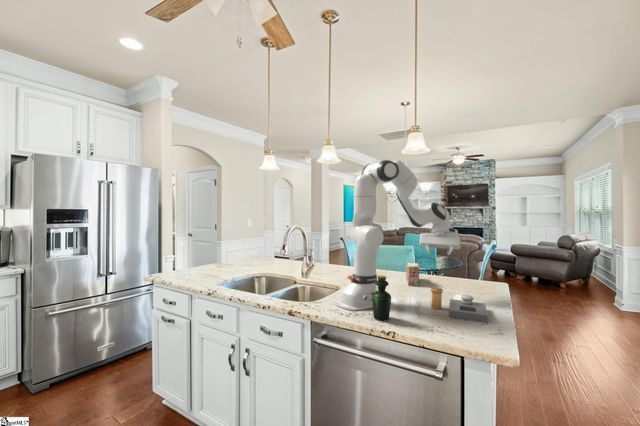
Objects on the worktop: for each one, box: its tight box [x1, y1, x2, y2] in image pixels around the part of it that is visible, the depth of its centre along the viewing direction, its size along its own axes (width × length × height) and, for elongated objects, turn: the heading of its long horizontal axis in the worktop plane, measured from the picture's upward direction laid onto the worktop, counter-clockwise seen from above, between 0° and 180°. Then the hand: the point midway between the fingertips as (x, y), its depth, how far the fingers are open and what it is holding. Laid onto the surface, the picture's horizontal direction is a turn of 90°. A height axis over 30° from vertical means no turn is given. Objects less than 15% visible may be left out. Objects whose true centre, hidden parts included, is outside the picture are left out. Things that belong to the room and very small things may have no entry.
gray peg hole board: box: [448, 294, 489, 323], centre depth 138 cm, size 18×15×6 cm
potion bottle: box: [372, 275, 392, 322], centre depth 130 cm, size 8×8×18 cm
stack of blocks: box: [405, 262, 420, 288], centre depth 195 cm, size 21×6×12 cm, turn 168°
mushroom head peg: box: [430, 287, 444, 311], centre depth 145 cm, size 5×5×9 cm
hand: (438, 253), depth 156 cm, fingers open, 8 cm apart
